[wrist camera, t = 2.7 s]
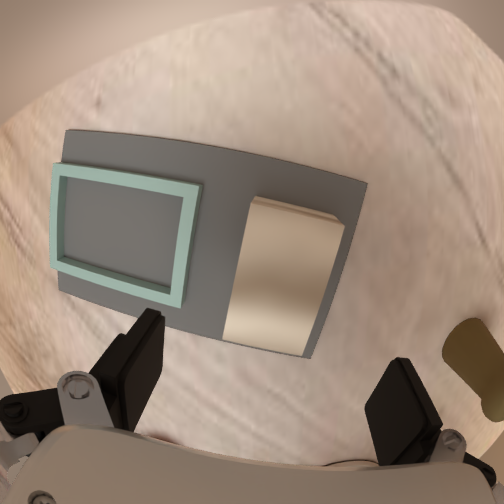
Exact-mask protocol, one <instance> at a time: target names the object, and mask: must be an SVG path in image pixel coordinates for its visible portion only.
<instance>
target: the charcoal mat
mask: <svg viewBox="0 0 504 504" xmlns="http://www.w3.org/2000/svg"><path fill="white" fill-rule="evenodd" d="M61 162H63V163H71V164H79V165H86V166H94V167H101V168H108V169H114V170H121V171H127V172H134V173H140V174H146V175H152V176H157V177H163V178H169V179H174V180H180V181H185V182H190V183H196V184H201V185H203V188H202V193H201V199H200V204H199V210H198V216H197V222H196V228H195V234H194V240H193V246H192V253H191V259H190V266H189V273H188V280H187V287H186V295H185V302H184V304H183V305H182V307H181V309H180V308H177V307H173V306H169V305H166V304H162V303H158V302H155V301H151V300H148V299H145V298H141V297H138V296H134V295H131V294H128V293H124V292H121V291H118V290H115V289H112V288H108V287H105V286H102V285H99V284H96V283H93V282H90V281H87V280H84V279H81V278H78V277H75V276H72V275H70V274H67V273H64V272H61V271H58V286H59V290H60V291H63V292H65V293H68V294H70V295H73V296H76V297H78V298H81V299H84V300H87V301H89V302H92V303H95V304H98V305H101V306H103V307H106V308H109V309H112V310H115V311H118V312H121V313H124V314H127V315H131V316H134V317H137V318H139V317H140V316H141V314H142V313H143V312H144V310H145V309H146V308H151V309H154V310H158V311H161V315H162V316H165V326H167V327H170V328H174V329H178V330H181V331H185V332H189V333H192V334H196V335H200V336H204V337H208V338H212V339H216V340H220V341H224V342H228V343H233V344H237V345H241V346H246V347H251V348H255V349H260V350H265V351H270V352H275V353H280V354H285V355H290V356H296V357H302V358H307V359H311V356H312V354H313V351H314V349H315V346H316V344H317V341H318V339H319V336H320V333H321V331H322V328H323V325H324V323H325V320H326V317H327V314H328V312H329V309H330V306H331V303H332V300H333V298H334V295H335V292H336V289H337V286H338V283H339V280H340V277H341V274H342V271H343V268H344V265H345V262H346V258H347V255H348V252H349V249H350V245H351V242H352V239H353V235H354V232H355V228H356V225H357V221H358V218H359V214H360V211H361V207H362V203H363V199H364V196H365V192H366V188H367V184H368V183H364V182H361V181H358V180H354V179H351V178H348V177H344V176H341V175H337V174H333V173H330V172H326V171H322V170H319V169H315V168H311V167H307V166H303V165H299V164H295V163H291V162H287V161H282V160H278V159H273V158H269V157H264V156H260V155H255V154H250V153H245V152H240V151H235V150H230V149H225V148H219V147H214V146H208V145H202V144H196V143H189V142H183V141H176V140H169V139H161V138H154V137H145V136H137V135H127V134H117V133H105V132H92V131H75V130H66V132H65V138H64V145H63V152H62V160H61ZM255 196H258V197H263V198H267V199H271V200H276V201H280V202H284V203H288V204H293V205H297V206H301V207H305V208H309V209H313V210H317V211H321V212H325V213H329V214H333V215H334V216H335V217H336V218H337V219H338V220H339V221H340V222H341V223H342V224H343V225H344V226H345V227H344V231H343V234H342V238H341V241H340V245H339V248H338V251H337V255H336V258H335V261H334V264H333V268H332V271H331V274H330V277H329V280H328V283H327V286H326V289H325V292H324V295H323V298H322V301H321V304H320V307H319V310H318V313H317V316H316V319H315V322H314V324H313V327H312V330H311V333H310V335H309V338H308V341H307V344H306V346H305V349H304V351H303V354H302V356H299V355H294V354H288V353H283V352H278V351H273V350H268V349H263V348H258V347H253V346H249V345H244V344H240V343H235V342H231V341H227V340H223V339H222V337H223V333H224V328H225V323H226V318H227V313H228V308H229V303H230V298H231V294H232V289H233V284H234V279H235V274H236V270H237V265H238V260H239V255H240V251H241V246H242V241H243V237H244V232H245V227H246V223H247V218H248V213H249V209H250V204H251V202H252V200H253V199H254V197H255ZM183 198H184V197H180V196H175V195H170V194H165V193H160V192H154V191H149V190H144V189H138V188H133V187H127V186H122V185H116V184H110V183H104V182H98V181H92V180H86V179H80V178H74V177H67V186H66V199H65V219H64V257H67V258H70V259H73V260H76V261H79V262H83V263H86V264H89V265H92V266H95V267H99V268H102V269H105V270H109V271H112V272H115V273H119V274H122V275H126V276H129V277H133V278H136V279H140V280H143V281H147V282H151V283H154V284H158V285H162V286H165V287H169V288H171V283H172V275H173V266H174V259H175V251H176V244H177V236H178V230H179V223H180V216H181V210H182V204H183Z"/></svg>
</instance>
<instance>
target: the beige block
mask: <svg viewBox="0 0 504 504" xmlns="http://www.w3.org/2000/svg"><path fill="white" fill-rule="evenodd" d="M344 227H345V226H344V225H343V224H342V223H341V222H340V221H339V220H338V219H337V218H336V217H335V216H334V215H333V214H329V213H325V212H321V211H317V210H313V209H309V208H305V207H301V206H297V205H293V204H288V203H284V202H280V201H276V200H271V199H267V198H263V197H258V196H255V197H254V199H253V200H252V202H251V204H250V209H249V213H248V218H247V223H246V227H245V232H244V237H243V241H242V246H241V251H240V255H239V260H238V265H237V270H236V274H235V279H234V284H233V289H232V294H231V298H230V303H229V308H228V313H227V318H226V323H225V328H224V333H223V337H222V339H223V340H227V341H231V342H235V343H240V344H244V345H249V346H253V347H258V348H263V349H268V350H273V351H278V352H283V353H288V354H294V355H299V356H302V354H303V351H304V349H305V346H306V344H307V341H308V338H309V335H310V333H311V330H312V327H313V324H314V322H315V319H316V316H317V313H318V310H319V307H320V304H321V301H322V298H323V295H324V292H325V289H326V286H327V283H328V280H329V277H330V274H331V271H332V268H333V264H334V261H335V258H336V255H337V251H338V248H339V245H340V241H341V238H342V234H343V231H344Z"/></svg>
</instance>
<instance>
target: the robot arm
mask: <svg viewBox="0 0 504 504" xmlns="http://www.w3.org/2000/svg"><path fill="white" fill-rule="evenodd" d="M164 332H165V316H162V315H161V311H158V310H154V309H151V308H146V309H145V310H144V312H143V313H142V314H141V316H140V317H139V318H138V320H137V321H136V322H135V324H134V325H133V326H132V327H131V329H130V330H129V331H128V333H127V334H126V335H125V334H122V333H120V334H119V335H118V336H117V337H116V338H115V339H114V340H113V342H112V343H111V344H110V346H109V347H108V348H107V349H106V351H105V352H104V353H103V355H102V356H101V357H100V359H99V360H98V361H97V363H96V364H95V365H94V366H93V368H92V369H91V370H90V372H89V373H87V372H82V371H72V372H68V373H66V374H64V375H63V376H62V377H61V378H60V379H59V381H58V383H57V388H53V389H47V390H40V391H34V392H27V393H19V394H12V395H8V396H6V397H4V398H2V399H1V400H0V504H504V486H503V485H502V484H501V483H500V482H498V483H497V484H496V474H495V471H494V469H493V468H492V467H490V466H489V465H487V464H486V463H484V462H482V461H481V460H479V459H477V458H475V457H474V456H472V455H470V454H469V453H467V452H465V451H466V440H465V439H464V437H463V436H462V435H461V434H460V433H459V432H458V431H456V430H453V429H445V430H443V431H442V432H441V429H440V428H441V427H442V426H443V423H442V421H441V419H440V417H439V415H438V413H437V411H436V409H435V406H434V405H433V403H432V401H431V399H430V397H429V395H428V393H427V391H426V389H425V387H424V385H423V383H422V381H421V379H420V377H419V376H418V374H417V372H416V370H415V368H414V366H413V365H412V363H411V361H410V359H408V358H400V357H397V358H395V359H394V360H392V361H391V362H390V363H389V365H388V367H387V369H386V371H385V372H384V374H383V376H382V378H381V379H380V381H379V383H378V384H377V386H376V388H375V389H374V391H373V393H372V394H371V396H370V398H369V399H368V401H367V402H366V404H365V414H366V417H367V421H368V425H369V428H370V432H371V436H372V440H373V444H374V448H375V452H376V456H377V460H378V464H379V465H378V464H376V463H373V462H370V461H347V462H341V463H336V464H332V465H329V466H325V467H322V466H304V465H291V464H281V463H272V462H264V461H256V460H250V459H243V458H237V457H231V456H226V455H221V454H216V453H211V452H207V451H202V450H198V449H194V448H189V447H185V446H181V445H177V444H173V443H170V442H166V441H162V440H159V439H156V438H152V437H148V436H145V435H141V434H137V433H134V430H135V428H136V425H137V423H138V421H139V419H140V417H141V415H142V413H143V410H144V408H145V406H146V404H147V402H148V400H149V398H150V396H151V394H152V391H153V389H154V387H155V385H156V383H157V381H158V379H159V377H160V375H161V372H162V366H163V347H164ZM24 456H28V457H29V458H28V459H27V461H26V462H25V464H24V465H23V467H22V468H21V470H20V472H19V473H18V475H17V476H16V478H15V480H14V482H13V483H12V485H10V484H9V481H8V478H7V472H8V470H9V468H10V467H11V466H12V465H13V464H15V463H18V462H19V458H22V457H24ZM53 499H54V500H53Z"/></svg>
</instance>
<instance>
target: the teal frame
mask: <svg viewBox="0 0 504 504" xmlns="http://www.w3.org/2000/svg"><path fill="white" fill-rule="evenodd" d="M67 177H74V178H80V179H86V180H92V181H98V182H104V183H110V184H116V185H122V186H127V187H133V188H138V189H144V190H149V191H154V192H160V193H165V194H170V195H175V196H180V197H184V198H183V204H182V210H181V216H180V223H179V230H178V236H177V244H176V251H175V259H174V266H173V275H172V283H171V288H169V287H165V286H162V285H158V284H154V283H151V282H147V281H143V280H140V279H136V278H133V277H129V276H126V275H122V274H119V273H115V272H112V271H109V270H105V269H102V268H99V267H95V266H92V265H89V264H86V263H83V262H79V261H76V260H73V259H70V258H67V257H64V219H65V199H66V186H67ZM202 188H203V185H201V184H196V183H190V182H185V181H180V180H174V179H169V178H163V177H157V176H152V175H146V174H140V173H134V172H127V171H121V170H114V169H108V168H101V167H94V166H86V165H79V164H71V163H63V162H59V163H53V170H52V181H51V195H50V220H49V246H50V268H53V269H56V270H58V271H61V272H64V273H67V274H70V275H72V276H75V277H78V278H81V279H84V280H87V281H90V282H93V283H96V284H99V285H102V286H105V287H108V288H112V289H115V290H118V291H121V292H124V293H128V294H131V295H134V296H138V297H141V298H145V299H148V300H151V301H155V302H158V303H162V304H166V305H169V306H173V307H177V308H180V309H181V307H182V305H183V304H184V302H185V295H186V287H187V280H188V273H189V266H190V259H191V253H192V246H193V240H194V234H195V228H196V222H197V216H198V210H199V204H200V199H201V193H202Z"/></svg>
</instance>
